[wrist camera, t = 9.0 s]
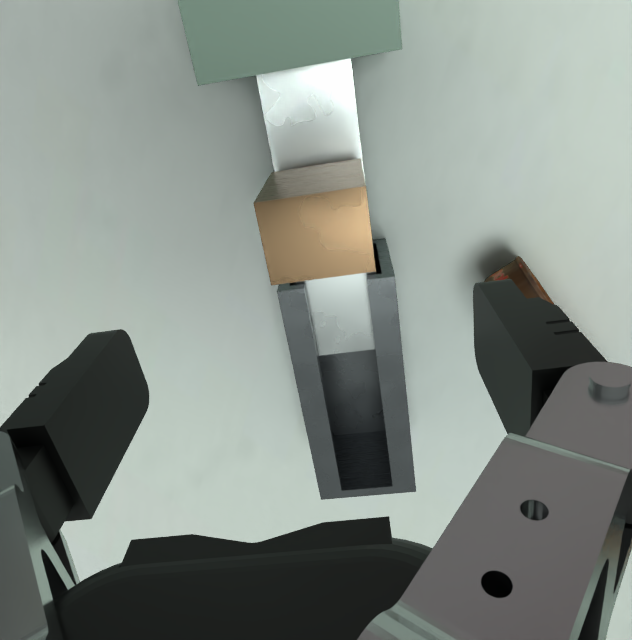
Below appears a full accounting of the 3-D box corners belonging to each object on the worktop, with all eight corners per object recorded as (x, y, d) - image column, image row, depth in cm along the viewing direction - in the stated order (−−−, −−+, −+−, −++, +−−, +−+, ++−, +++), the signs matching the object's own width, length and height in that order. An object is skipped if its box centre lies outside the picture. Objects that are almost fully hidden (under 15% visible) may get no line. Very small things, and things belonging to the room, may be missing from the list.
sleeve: (323, 437, 38) (321, 499, 33) (287, 252, 32) (277, 291, 26) (405, 429, 38) (415, 491, 32) (385, 238, 31) (394, 276, 26)
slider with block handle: (313, 322, 33) (301, 436, 23) (253, -6, 25) (196, -46, 15) (379, 314, 32) (396, 427, 23) (339, -23, 24) (338, -76, 15)
